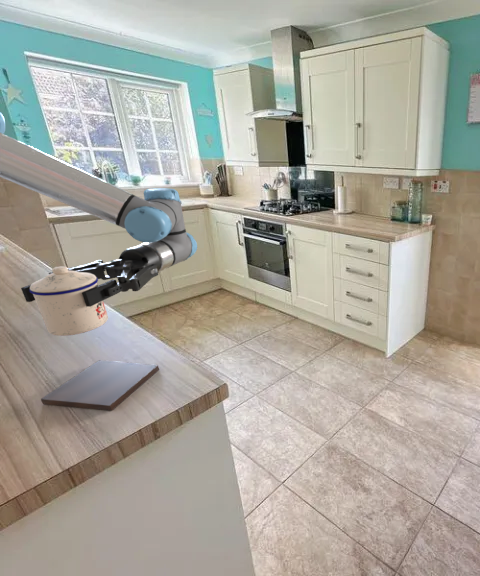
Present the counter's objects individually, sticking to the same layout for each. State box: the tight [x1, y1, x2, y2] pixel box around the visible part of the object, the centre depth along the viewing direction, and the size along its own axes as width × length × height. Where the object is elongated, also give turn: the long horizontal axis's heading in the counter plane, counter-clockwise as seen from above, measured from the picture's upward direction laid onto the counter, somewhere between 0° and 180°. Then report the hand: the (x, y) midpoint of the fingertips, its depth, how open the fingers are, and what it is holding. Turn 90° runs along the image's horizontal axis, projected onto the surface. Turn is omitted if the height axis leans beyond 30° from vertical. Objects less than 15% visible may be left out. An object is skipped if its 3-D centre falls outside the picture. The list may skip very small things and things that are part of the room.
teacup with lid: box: [30, 265, 109, 337], centre depth 61 cm, size 12×9×12 cm
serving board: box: [40, 359, 160, 412], centre depth 64 cm, size 13×12×1 cm
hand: (55, 297), depth 58 cm, fingers closed on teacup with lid, 11 cm apart
